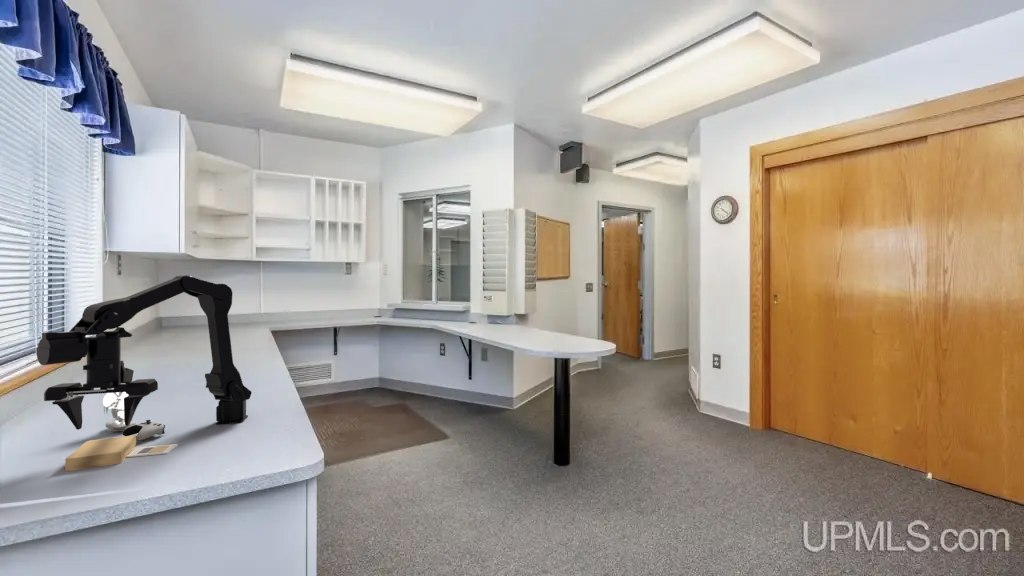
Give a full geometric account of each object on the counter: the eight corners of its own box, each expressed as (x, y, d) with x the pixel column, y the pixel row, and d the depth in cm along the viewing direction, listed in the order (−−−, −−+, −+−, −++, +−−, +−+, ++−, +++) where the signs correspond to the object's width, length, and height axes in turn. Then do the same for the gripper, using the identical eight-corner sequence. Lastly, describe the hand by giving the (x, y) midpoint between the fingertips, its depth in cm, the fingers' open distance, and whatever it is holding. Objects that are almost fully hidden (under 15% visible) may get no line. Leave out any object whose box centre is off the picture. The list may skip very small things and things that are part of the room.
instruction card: (178, 445, 109) (178, 443, 109) (167, 453, 103) (167, 451, 103) (138, 448, 106) (138, 447, 106) (125, 457, 101) (125, 455, 101)
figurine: (140, 430, 121) (140, 386, 121) (110, 437, 115) (110, 390, 115) (125, 425, 125) (125, 382, 125) (95, 431, 120) (96, 387, 120)
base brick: (136, 447, 109) (136, 434, 109) (121, 465, 98) (121, 451, 98) (87, 453, 105) (87, 440, 105) (65, 473, 93) (65, 459, 93)
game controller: (118, 432, 114) (139, 412, 118) (135, 444, 117) (155, 424, 121) (136, 437, 109) (158, 416, 113) (154, 449, 112) (174, 428, 116)
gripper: (167, 352, 112) (167, 414, 112) (75, 355, 106) (74, 421, 106) (146, 358, 101) (146, 427, 101) (42, 362, 96) (42, 435, 95)
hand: (103, 427), depth 101 cm, fingers open, 9 cm apart
